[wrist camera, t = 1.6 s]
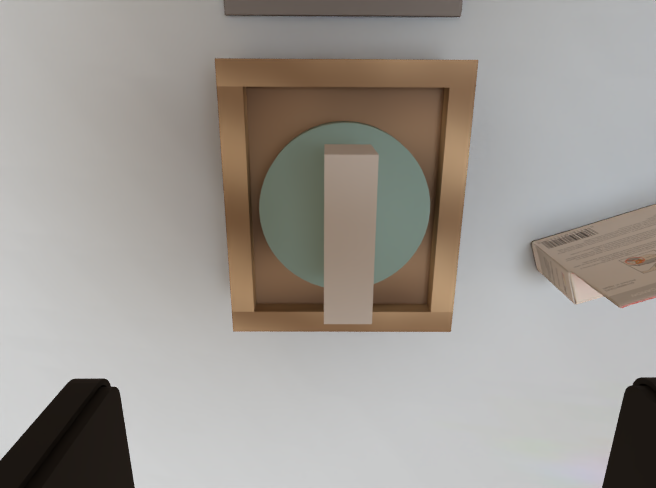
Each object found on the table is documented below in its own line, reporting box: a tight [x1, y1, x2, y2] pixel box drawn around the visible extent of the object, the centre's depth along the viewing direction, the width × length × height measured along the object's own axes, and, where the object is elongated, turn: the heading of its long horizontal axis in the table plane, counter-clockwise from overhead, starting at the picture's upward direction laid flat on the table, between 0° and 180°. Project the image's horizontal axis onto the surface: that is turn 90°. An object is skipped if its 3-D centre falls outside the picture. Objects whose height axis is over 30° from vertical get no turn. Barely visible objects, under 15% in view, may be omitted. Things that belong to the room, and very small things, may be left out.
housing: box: [215, 59, 478, 332], centre depth 27 cm, size 14×12×6 cm
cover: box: [259, 121, 430, 324], centre depth 22 cm, size 8×8×7 cm
